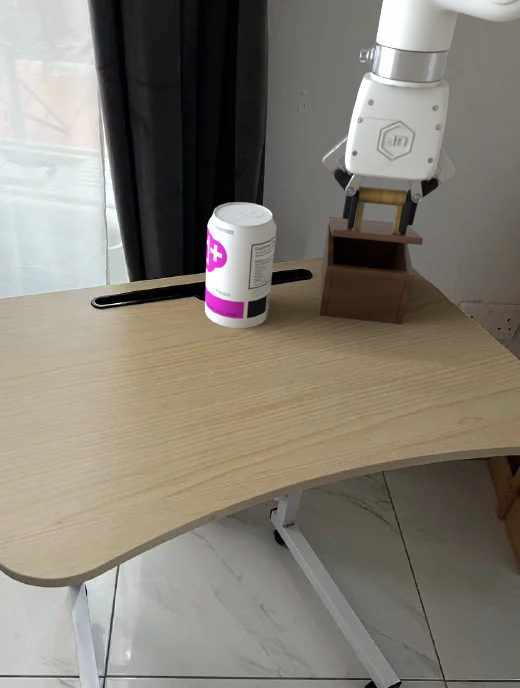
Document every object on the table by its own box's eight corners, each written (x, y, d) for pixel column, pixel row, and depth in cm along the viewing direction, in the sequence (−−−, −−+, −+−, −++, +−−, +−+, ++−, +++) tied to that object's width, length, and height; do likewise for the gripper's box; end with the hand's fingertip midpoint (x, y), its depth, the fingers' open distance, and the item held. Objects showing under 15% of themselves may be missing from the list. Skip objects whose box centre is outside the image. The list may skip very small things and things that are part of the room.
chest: (398, 335, 86) (414, 275, 80) (317, 327, 87) (326, 266, 81) (392, 286, 97) (405, 229, 91) (319, 279, 97) (328, 222, 92)
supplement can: (211, 342, 83) (216, 229, 74) (199, 309, 89) (202, 201, 80) (274, 337, 84) (286, 226, 75) (257, 304, 91) (267, 198, 81)
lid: (422, 245, 78) (431, 193, 75) (331, 236, 78) (338, 185, 76) (405, 229, 91) (413, 185, 89) (328, 222, 92) (334, 178, 90)
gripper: (325, 65, 67) (304, 232, 78) (498, 79, 66) (451, 247, 77) (327, 51, 73) (306, 208, 84) (486, 63, 72) (443, 222, 83)
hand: (375, 225), depth 80 cm, fingers closed on lid, 5 cm apart
